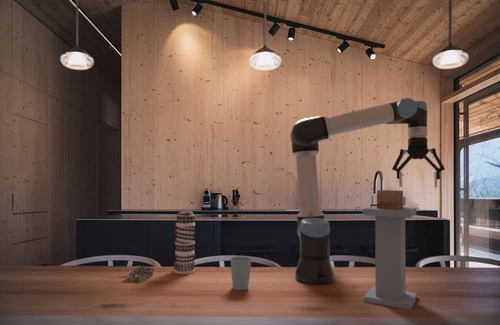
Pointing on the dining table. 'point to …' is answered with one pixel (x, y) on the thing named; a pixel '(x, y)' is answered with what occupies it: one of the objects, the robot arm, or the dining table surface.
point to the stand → (390, 258)
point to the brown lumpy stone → (140, 273)
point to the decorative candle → (185, 243)
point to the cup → (240, 272)
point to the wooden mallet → (390, 199)
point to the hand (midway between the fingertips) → (417, 187)
